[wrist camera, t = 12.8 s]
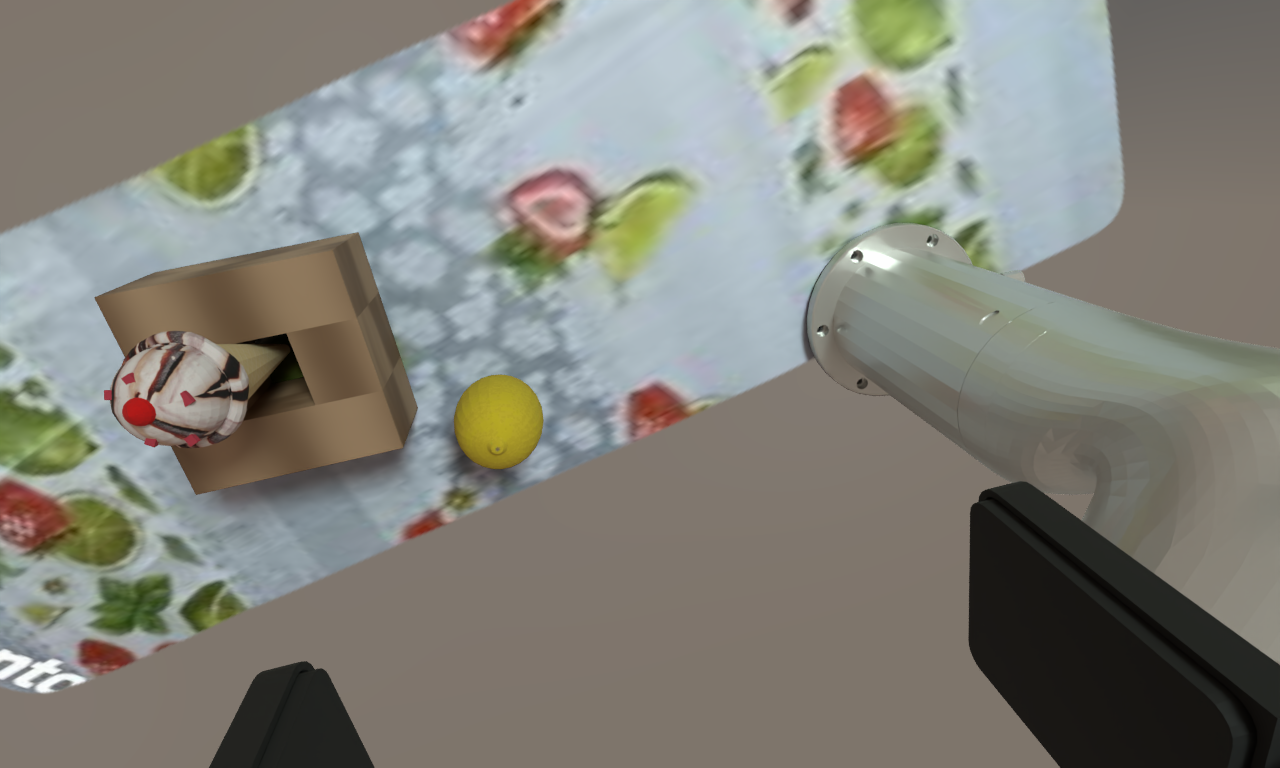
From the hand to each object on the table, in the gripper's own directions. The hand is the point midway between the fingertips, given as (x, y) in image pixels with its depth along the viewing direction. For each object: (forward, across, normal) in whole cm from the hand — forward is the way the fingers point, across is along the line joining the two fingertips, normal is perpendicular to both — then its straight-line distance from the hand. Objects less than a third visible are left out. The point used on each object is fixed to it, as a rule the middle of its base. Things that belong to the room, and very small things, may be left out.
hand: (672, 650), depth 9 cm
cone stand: (+36, +18, +3) cm, 40 cm away
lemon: (+36, +7, +9) cm, 38 cm away
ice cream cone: (+36, +18, +3) cm, 40 cm away
